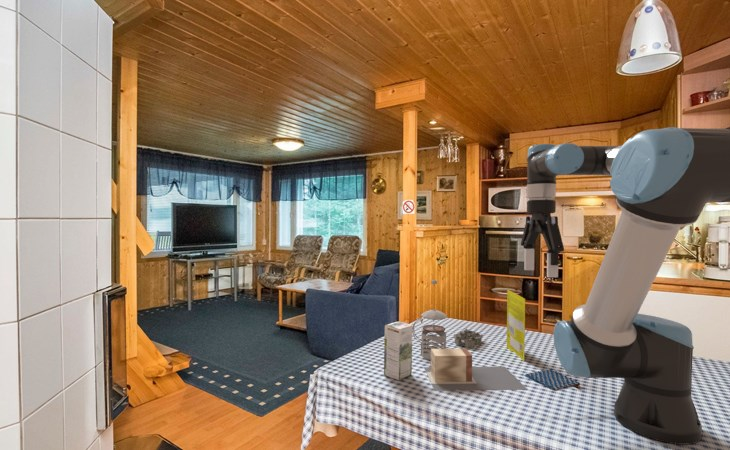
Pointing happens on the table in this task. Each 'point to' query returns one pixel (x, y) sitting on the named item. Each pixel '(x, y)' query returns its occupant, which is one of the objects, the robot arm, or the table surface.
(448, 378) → the maple block
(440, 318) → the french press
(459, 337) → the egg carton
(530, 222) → the robot arm
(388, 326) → the syrup box
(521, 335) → the food package
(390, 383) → the table surface
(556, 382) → the woven mat
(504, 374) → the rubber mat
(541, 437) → the table surface
